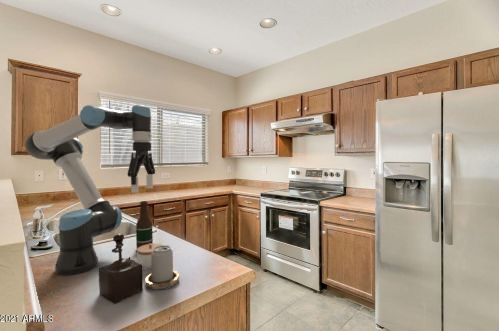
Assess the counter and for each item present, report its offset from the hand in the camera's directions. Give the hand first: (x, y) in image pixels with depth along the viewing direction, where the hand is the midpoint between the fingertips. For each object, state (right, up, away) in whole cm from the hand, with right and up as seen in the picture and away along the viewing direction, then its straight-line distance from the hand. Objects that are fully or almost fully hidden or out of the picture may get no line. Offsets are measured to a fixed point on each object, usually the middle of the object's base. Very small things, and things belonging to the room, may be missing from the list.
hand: (142, 190), depth 115 cm
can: (+15, -32, -18) cm, 39 cm away
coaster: (+15, -32, -18) cm, 40 cm away
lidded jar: (+5, -32, -3) cm, 33 cm away
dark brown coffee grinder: (+1, -33, -23) cm, 40 cm away
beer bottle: (-6, -31, +17) cm, 36 cm away
